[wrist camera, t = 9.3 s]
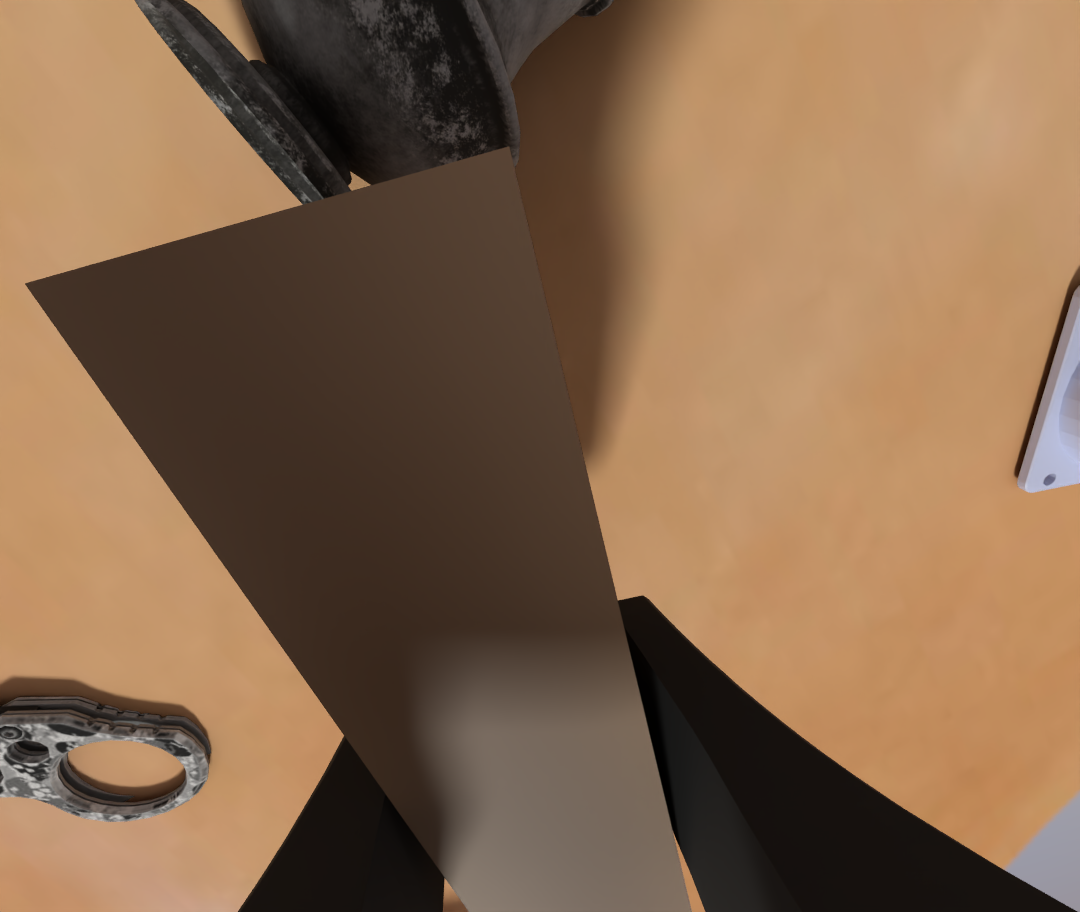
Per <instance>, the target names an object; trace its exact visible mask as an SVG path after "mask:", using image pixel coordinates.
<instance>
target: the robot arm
mask: <svg viewBox="0 0 1080 912" xmlns="http://www.w3.org/2000/svg"><path fill="white" fill-rule="evenodd" d="M1078 483H1080V285H1079V286H1078V288H1077V289H1076V290H1075V292H1074V294H1073V296H1072V300H1071V303H1070V306H1069V310H1068V313H1067V316H1066V320H1065V323H1064V326H1063V330H1062V333H1061V336H1060V340H1059V343H1058V346H1057V350H1056V353H1055V356H1054V360H1053V363H1052V366H1051V370H1050V373H1049V376H1048V380H1047V383H1046V386H1045V390H1044V393H1043V396H1042V400H1041V403H1040V406H1039V410H1038V413H1037V416H1036V420H1035V423H1034V426H1033V430H1032V433H1031V436H1030V440H1029V443H1028V446H1027V450H1026V453H1025V456H1024V460H1023V463H1022V466H1021V470H1020V473H1019V476H1018V481H1017V485H1018V487H1019V488H1021V489H1023V490H1025V491H1027V492H1029V493H1032V492H1038V491H1043V490H1048V489H1053V488H1058V487H1063V486H1068V485H1073V484H1078ZM618 604H619V608H620V613H621V617H622V621H623V625H624V629H625V634H626V638H627V642H628V646H629V650H630V654H631V659H632V663H633V667H634V671H635V675H636V680H637V684H638V688H639V692H640V696H641V701H642V705H643V709H644V713H645V717H646V722H647V726H648V730H649V734H650V738H651V742H652V747H653V751H654V755H655V759H656V763H657V768H658V772H659V776H660V780H661V784H662V789H663V793H664V797H665V801H666V805H667V810H668V814H669V818H670V822H671V826H672V830H673V833H674V835H675V837H676V840H677V842H678V844H679V847H680V849H681V852H682V854H683V856H684V859H685V861H686V863H687V866H688V868H689V870H690V873H691V875H692V878H693V880H694V883H695V886H696V888H697V891H698V893H699V896H700V899H701V901H702V904H703V906H704V909H705V912H1077V911H1075V910H1073V909H1071V908H1070V907H1068V906H1066V905H1065V904H1063V903H1061V902H1059V901H1057V900H1056V899H1054V898H1052V897H1051V896H1049V895H1047V894H1045V893H1043V892H1042V891H1040V890H1038V889H1036V888H1035V887H1033V886H1031V885H1029V884H1028V883H1026V882H1024V881H1022V880H1020V879H1019V878H1017V877H1015V876H1014V875H1012V874H1010V873H1008V872H1007V871H1005V870H1003V869H1001V868H1000V867H998V866H996V865H995V864H993V863H991V862H990V861H988V860H986V859H985V858H983V857H982V856H980V855H978V854H977V853H975V852H973V851H972V850H970V849H969V848H967V847H965V846H964V845H962V844H960V843H959V842H957V841H956V840H954V839H952V838H951V837H949V836H947V835H946V834H944V833H943V832H941V831H939V830H938V829H936V828H934V827H933V826H931V825H930V824H928V823H926V822H925V821H923V820H921V819H920V818H918V817H917V816H915V815H913V814H912V813H910V812H908V811H907V810H905V809H904V808H902V807H901V806H899V805H898V804H896V803H895V802H893V801H892V800H890V799H889V798H887V797H886V796H884V795H883V794H881V793H880V792H878V791H877V790H875V789H874V788H872V787H871V786H869V785H868V784H866V783H865V782H863V781H862V780H861V779H859V778H858V777H856V776H855V775H853V774H852V773H850V772H849V771H848V770H846V769H845V768H843V767H842V766H841V765H839V764H838V763H836V762H835V761H834V760H832V759H831V758H829V757H828V756H827V755H825V754H824V753H822V752H821V751H820V750H818V749H817V748H816V747H814V746H813V745H812V744H810V743H809V742H808V741H806V740H805V739H804V738H802V737H801V736H800V735H798V734H797V733H796V732H795V731H793V730H792V729H791V728H789V727H788V726H787V725H786V724H784V723H783V722H782V721H781V720H779V719H778V718H777V717H776V716H774V715H773V714H772V713H771V712H769V711H768V710H767V709H766V708H765V707H763V706H762V705H761V704H760V703H758V702H757V701H756V700H755V699H754V698H752V697H751V696H750V695H749V694H748V693H747V692H745V691H744V690H743V689H742V688H741V687H739V686H738V685H737V684H736V683H735V682H734V681H733V680H732V679H731V678H729V677H728V676H727V675H726V674H725V673H724V672H723V671H722V670H720V669H719V668H718V667H717V666H716V665H715V664H714V663H713V662H711V661H710V660H709V659H708V658H707V657H706V656H705V655H704V654H703V653H702V652H701V651H700V650H699V649H697V648H696V647H695V646H694V645H693V644H692V643H691V642H690V641H689V640H688V639H687V638H686V637H685V636H684V635H683V634H682V633H681V632H680V631H679V630H678V629H677V628H676V627H675V626H674V625H673V624H672V623H671V622H670V621H669V620H668V619H667V618H666V617H665V616H664V615H663V614H662V613H661V612H660V611H659V610H658V609H657V608H656V607H655V605H654V604H653V603H652V602H651V601H650V600H649V599H647V598H646V597H645V596H638V597H633V598H628V599H624V600H619V601H618ZM444 878H445V877H444V876H443V874H442V873H441V872H440V870H439V869H438V867H437V866H436V865H435V863H434V862H433V860H432V859H431V857H430V856H429V855H428V853H427V852H426V850H425V849H424V848H423V846H422V845H421V843H420V842H419V841H418V839H417V838H416V836H415V835H414V833H413V832H412V831H411V829H410V828H409V826H408V825H407V824H406V822H405V821H404V819H403V818H402V816H401V815H400V814H399V812H398V811H397V809H396V808H395V807H394V805H393V804H392V802H391V801H390V799H389V798H388V797H387V795H386V794H385V792H384V791H383V790H382V788H381V787H380V785H379V784H378V783H377V781H376V780H375V778H374V777H373V775H372V774H371V773H370V771H369V770H368V768H367V767H366V766H365V764H364V763H363V761H362V760H361V758H360V757H359V756H358V754H357V753H356V751H355V750H354V749H353V747H352V746H351V744H350V743H349V741H348V740H347V739H346V737H345V736H344V737H343V739H342V741H341V743H340V745H339V746H338V748H337V750H336V752H335V754H334V756H333V758H332V760H331V761H330V763H329V765H328V767H327V769H326V771H325V773H324V774H323V776H322V778H321V780H320V781H319V783H318V785H317V787H316V788H315V790H314V792H313V793H312V795H311V797H310V798H309V800H308V802H307V803H306V805H305V807H304V809H303V810H302V812H301V814H300V815H299V817H298V819H297V820H296V822H295V824H294V825H293V827H292V829H291V831H290V832H289V834H288V836H287V837H286V839H285V840H284V842H283V844H282V845H281V847H280V848H279V850H278V852H277V853H276V855H275V856H274V858H273V859H272V861H271V863H270V864H269V866H268V867H267V869H266V870H265V872H264V873H263V875H262V877H261V878H260V880H259V881H258V883H257V884H256V886H255V887H254V889H253V890H252V892H251V893H250V895H249V896H248V898H247V899H246V901H245V902H244V903H243V905H242V906H241V908H240V909H239V911H238V912H443V896H444Z"/></svg>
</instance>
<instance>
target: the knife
mask: <svg viewBox="0 0 1080 912" xmlns="http://www.w3.org/2000/svg"><path fill="white" fill-rule="evenodd" d="M108 740H122V741H134V742H140V743H145V744H149V745H152V746H155V747H158V748H161V749H163V750H165V751H167V752H168V753H170V754H172V755H173V756H175V757H176V758H177V759H178V760H179V761H180V762H181V763H182V764H183V765H184V768H185V770H186V779H185V781H184V782H183V784H182V785H181V786H179V787H178V788H177V789H176V790H174V791H172V792H170V793H169V794H167V795H165V796H162V797H159V798H155V799H152V800H147V801H140V802H125V801H127V800H129V799H131V798H132V797H134V796H126V795H118V794H113V793H108V792H105V791H102V790H100V789H97V788H95V787H92V786H91V785H89V784H88V783H86V782H85V781H83V780H81V779H80V778H79V777H78V776H77V775H76V774H75V773H73V772H72V770H71V768H70V767H69V765H68V763H67V757H68V752H69V751H70V750H72V749H74V748H76V747H79V746H82V745H86V744H89V743H92V742H100V741H108ZM210 753H211V750H210V746H209V742H208V739H207V738H206V737H205V735H204V734H203V733H202V731H201V730H200V729H199V728H198V726H197V725H195V724H194V723H193V722H191V721H190V720H189V719H188V718H186V717H179V716H166V717H165V718H161V717H160V715H149V713H145V714H140V713H139V712H137V711H130V710H125V711H120V710H119V708H116V707H112V706H109V705H104V706H101V705H100V704H99V703H97V702H95V701H92V700H89V699H86V698H83V697H80V696H61V697H18V698H16V699H14V700H12V701H10V702H9V703H7V704H5V705H3V706H0V797H24V798H30V799H37V800H39V801H42V802H45V803H48V804H51V805H54V806H56V807H57V808H59V809H61V810H63V811H65V812H67V813H70V814H73V815H76V816H79V817H82V818H85V819H92V820H99V821H105V822H121V821H133V820H138V819H144V818H149V817H153V816H156V815H159V814H162V813H165V812H168V811H170V810H172V809H174V808H176V807H178V806H180V805H182V804H183V803H185V802H187V801H189V800H190V799H191V798H192V797H193V796H195V795H196V794H197V793H198V792H199V791H200V790H201V788H202V787H203V785H204V784H205V782H206V781H207V779H208V771H209V760H208V757H207V755H208V754H210Z"/></svg>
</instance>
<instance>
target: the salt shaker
mask: <svg viewBox="0 0 1080 912" xmlns="http://www.w3.org/2000/svg"><path fill="white" fill-rule="evenodd" d="M241 1H242V5H243V7H244V10H245V12H246V15H247V17H248V20H249V22H250V24H251V27H252V29H253V32H254V34H255V37H256V39H257V42H258V44H259V47H260V49H261V52H262V54H263V56H264V59H265V61H266V64H265V63H263V62H261V61H260V60H250V61H249V62H248V60H247V59H246V58H245V57H244V56H243V55H242V54H241V53H240V52H239V51H238V50H237V49H236V47H235V46H234V45H233V44H232V43H231V42H230V41H229V40H228V39H227V38H226V37H225V36H224V35H223V34H222V32H221V31H220V30H219V29H218V28H217V27H216V26H215V25H214V24H212V23H211V22H210V21H209V20H208V19H207V18H206V17H205V16H204V15H203V14H202V13H201V12H200V11H199V10H198V9H196V8H195V7H193V6H192V5H190V4H189V3H187V2H186V1H184V0H135V2H136V3H137V5H138V7H139V8H140V9H141V11H142V12H143V13H144V15H145V16H146V18H147V19H148V20H149V22H150V23H151V24H152V26H153V27H154V29H155V30H156V31H157V33H158V34H159V35H160V36H161V38H162V39H163V40H164V42H165V43H166V44H167V45H168V47H169V48H170V49H171V50H172V52H173V53H174V54H175V56H176V57H177V58H178V59H179V61H180V62H181V63H182V64H183V66H184V67H185V68H186V69H187V71H188V72H189V73H190V74H191V75H192V77H193V78H194V79H195V80H196V82H197V83H198V84H199V85H200V86H201V88H202V89H203V90H204V91H205V93H206V94H207V95H208V96H209V97H210V99H211V100H212V101H213V102H214V103H215V105H216V106H217V107H218V108H219V109H220V110H221V112H222V113H223V114H224V115H225V116H226V118H227V119H228V120H229V121H230V122H231V124H232V125H233V126H234V127H235V128H236V129H237V131H238V132H239V133H240V134H241V135H242V136H243V138H244V139H245V140H246V141H247V142H248V143H249V144H250V146H251V147H252V148H253V149H254V150H255V151H256V153H257V154H258V155H259V156H260V157H261V158H262V159H263V161H264V162H265V163H266V164H267V165H268V166H269V167H270V168H271V170H272V171H273V172H274V173H275V174H276V175H277V176H278V177H279V179H280V180H281V181H282V182H283V183H284V184H285V185H286V186H287V188H288V189H289V190H290V191H291V192H292V193H293V194H294V195H295V196H296V197H297V199H298V200H299V201H300V202H301V203H302V204H303V205H304V204H307V203H311V202H315V201H318V200H322V199H325V198H329V197H332V196H336V195H339V194H343V193H346V192H350V191H351V190H350V188H349V187H348V185H349V184H350V183H351V180H352V178H351V174H350V171H351V172H352V173H354V174H355V175H357V176H358V177H360V178H361V179H363V180H364V181H366V182H367V183H369V184H370V185H375V184H378V183H382V182H385V181H389V180H392V179H396V178H399V177H403V176H406V175H410V174H413V173H417V172H420V171H424V170H427V169H431V168H435V167H438V166H442V165H445V164H449V163H452V162H456V161H459V160H463V159H466V158H470V157H473V156H477V155H480V154H484V153H487V152H491V151H494V150H498V149H502V148H505V147H510V151H511V156H512V160H513V164H514V168H515V166H516V165H517V163H518V160H519V148H520V126H519V121H518V115H517V109H516V103H515V98H514V94H513V91H512V88H511V85H510V84H511V82H512V80H513V79H514V77H515V76H516V74H517V72H518V71H519V69H520V68H521V66H522V65H523V64H524V62H525V61H526V59H527V58H528V57H529V55H530V54H531V52H532V51H533V50H534V49H535V48H536V47H537V46H538V45H539V44H541V43H542V42H543V41H544V40H545V39H546V38H547V37H549V36H550V35H551V34H552V33H553V32H554V31H556V30H557V29H558V28H559V27H560V26H561V25H562V24H564V23H565V22H566V21H567V20H568V19H569V18H570V17H572V16H573V15H574V14H575V15H578V16H581V17H591V16H597V15H598V14H600V13H601V12H602V11H604V10H605V9H607V8H608V7H609V6H610V5H611V4H612V2H613V0H241Z"/></svg>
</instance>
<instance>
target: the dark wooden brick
mask: <svg viewBox="0 0 1080 912" xmlns="http://www.w3.org/2000/svg"><path fill="white" fill-rule="evenodd" d="M25 285H26V286H27V287H28V289H29V290H30V292H31V293H32V295H33V296H34V297H35V299H36V300H37V302H38V303H39V304H40V306H41V307H42V309H43V310H44V311H45V313H46V314H47V316H48V317H49V319H50V320H51V321H52V323H53V324H54V326H55V327H56V328H57V330H58V331H59V333H60V334H61V336H62V337H63V338H64V340H65V341H66V343H67V344H68V345H69V347H70V348H71V350H72V351H73V353H74V354H75V355H76V357H77V358H78V360H79V361H80V362H81V364H82V365H83V367H84V368H85V369H86V371H87V372H88V374H89V375H90V377H91V378H92V379H93V381H94V382H95V384H96V385H97V386H98V388H99V389H100V391H101V392H102V394H103V395H104V396H105V398H106V399H107V401H108V402H109V403H110V405H111V406H112V408H113V409H114V411H115V412H116V413H117V415H118V416H119V418H120V419H121V420H122V422H123V423H124V425H125V426H126V427H127V429H128V430H129V432H130V433H131V435H132V436H133V437H134V439H135V440H136V442H137V443H138V444H139V446H140V447H141V449H142V450H143V452H144V453H145V454H146V456H147V457H148V459H149V460H150V461H151V463H152V464H153V466H154V467H155V468H156V470H157V471H158V473H159V474H160V476H161V477H162V478H163V480H164V481H165V483H166V484H167V485H168V487H169V488H170V490H171V491H172V493H173V494H174V495H175V497H176V498H177V500H178V501H179V502H180V504H181V505H182V507H183V508H184V510H185V511H186V512H187V514H188V515H189V517H190V518H191V519H192V521H193V522H194V524H195V525H196V526H197V528H198V529H199V531H200V532H201V534H202V535H203V536H204V538H205V539H206V541H207V542H208V543H209V545H210V546H211V548H212V549H213V551H214V552H215V553H216V555H217V556H218V558H219V559H220V560H221V562H222V563H223V565H224V566H225V568H226V569H227V570H228V572H229V573H230V575H231V576H232V577H233V579H234V580H235V582H236V583H237V584H238V586H239V587H240V589H241V590H242V592H243V593H244V594H245V596H246V597H247V599H248V600H249V601H250V603H251V604H252V606H253V607H254V609H255V610H256V611H257V613H258V614H259V616H260V617H261V618H262V620H263V621H264V623H265V624H266V626H267V627H268V628H269V630H270V631H271V633H272V634H273V635H274V637H275V638H276V640H277V641H278V642H279V644H280V645H281V647H282V648H283V650H284V651H285V652H286V654H287V655H288V657H289V658H290V659H291V661H292V662H293V664H294V665H295V667H296V668H297V669H298V671H299V672H300V674H301V675H302V676H303V678H304V679H305V681H306V682H307V683H308V685H309V686H310V688H311V689H312V691H313V692H314V693H315V695H316V696H317V698H318V699H319V700H320V702H321V703H322V705H323V706H324V708H325V709H326V710H327V712H328V713H329V715H330V716H331V717H332V719H333V720H334V722H335V723H336V725H337V726H338V727H339V729H340V730H341V732H342V733H343V734H344V736H345V737H346V739H347V740H348V741H349V743H350V744H351V746H352V747H353V749H354V750H355V751H356V753H357V754H358V756H359V757H360V758H361V760H362V761H363V763H364V764H365V766H366V767H367V768H368V770H369V771H370V773H371V774H372V775H373V777H374V778H375V780H376V781H377V783H378V784H379V785H380V787H381V788H382V790H383V791H384V792H385V794H386V795H387V797H388V798H389V799H390V801H391V802H392V804H393V805H394V807H395V808H396V809H397V811H398V812H399V814H400V815H401V816H402V818H403V819H404V821H405V822H406V824H407V825H408V826H409V828H410V829H411V831H412V832H413V833H414V835H415V836H416V838H417V839H418V841H419V842H420V843H421V845H422V846H423V848H424V849H425V850H426V852H427V853H428V855H429V856H430V857H431V859H432V860H433V862H434V863H435V865H436V866H437V867H438V869H439V870H440V872H441V873H442V874H443V876H444V877H445V879H446V880H447V882H448V883H449V884H450V886H451V887H452V889H453V890H454V891H455V893H456V894H457V896H458V897H459V898H460V900H461V901H462V903H463V904H464V906H465V907H466V908H467V910H468V911H469V912H692V910H691V906H690V902H689V898H688V893H687V889H686V885H685V881H684V877H683V872H682V868H681V864H680V860H679V856H678V851H677V847H676V843H675V839H674V835H673V831H672V826H671V822H670V818H669V814H668V810H667V805H666V801H665V797H664V793H663V789H662V784H661V780H660V776H659V772H658V768H657V763H656V759H655V755H654V751H653V747H652V742H651V738H650V734H649V730H648V726H647V722H646V717H645V713H644V709H643V705H642V701H641V696H640V692H639V688H638V684H637V680H636V675H635V671H634V667H633V663H632V659H631V654H630V650H629V646H628V642H627V638H626V634H625V629H624V625H623V621H622V617H621V613H620V608H619V604H618V600H617V596H616V592H615V587H614V583H613V579H612V575H611V571H610V566H609V562H608V558H607V554H606V550H605V545H604V541H603V537H602V533H601V529H600V525H599V520H598V516H597V512H596V508H595V504H594V499H593V495H592V491H591V487H590V483H589V478H588V474H587V470H586V466H585V462H584V457H583V453H582V449H581V445H580V441H579V436H578V432H577V428H576V424H575V420H574V416H573V411H572V407H571V403H570V399H569V395H568V390H567V386H566V382H565V378H564V374H563V369H562V365H561V361H560V357H559V353H558V348H557V344H556V340H555V336H554V332H553V328H552V323H551V319H550V315H549V311H548V307H547V302H546V298H545V294H544V290H543V286H542V281H541V277H540V273H539V269H538V265H537V260H536V256H535V252H534V248H533V244H532V239H531V235H530V231H529V227H528V223H527V219H526V214H525V210H524V206H523V202H522V198H521V193H520V189H519V185H518V181H517V177H516V172H515V168H514V164H513V160H512V156H511V151H510V147H505V148H502V149H498V150H494V151H491V152H487V153H484V154H480V155H477V156H473V157H470V158H466V159H463V160H459V161H456V162H452V163H449V164H445V165H442V166H438V167H435V168H431V169H427V170H424V171H420V172H417V173H413V174H410V175H406V176H403V177H399V178H396V179H392V180H389V181H385V182H382V183H378V184H375V185H371V186H367V187H364V188H360V189H357V190H353V191H350V192H346V193H343V194H339V195H336V196H332V197H329V198H325V199H322V200H318V201H315V202H311V203H307V204H304V205H300V206H297V207H293V208H290V209H286V210H283V211H279V212H276V213H272V214H269V215H265V216H262V217H258V218H255V219H251V220H247V221H244V222H240V223H237V224H233V225H230V226H226V227H223V228H219V229H216V230H212V231H209V232H205V233H202V234H198V235H195V236H191V237H188V238H184V239H180V240H177V241H173V242H170V243H166V244H163V245H159V246H156V247H152V248H149V249H145V250H142V251H138V252H135V253H131V254H128V255H124V256H120V257H117V258H113V259H110V260H106V261H103V262H99V263H96V264H92V265H89V266H85V267H82V268H78V269H75V270H71V271H68V272H64V273H60V274H57V275H53V276H50V277H46V278H43V279H39V280H36V281H32V282H29V283H25Z"/></svg>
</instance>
